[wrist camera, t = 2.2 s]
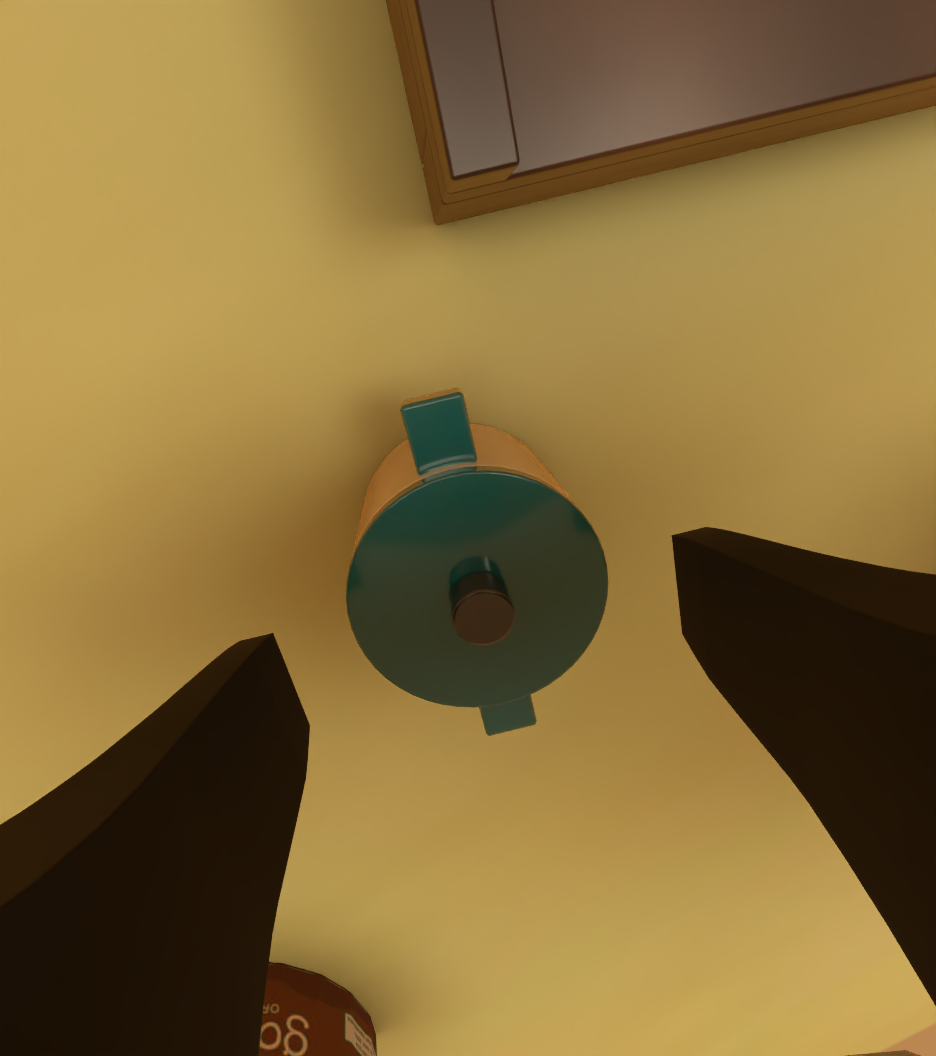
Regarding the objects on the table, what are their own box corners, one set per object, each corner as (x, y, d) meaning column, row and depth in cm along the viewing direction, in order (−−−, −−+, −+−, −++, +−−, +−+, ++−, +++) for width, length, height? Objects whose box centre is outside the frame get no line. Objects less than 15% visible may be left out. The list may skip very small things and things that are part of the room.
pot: (529, 348, 15) (590, 375, 10) (577, 620, 18) (644, 748, 13) (322, 398, 15) (276, 451, 10) (403, 662, 18) (401, 807, 13)
